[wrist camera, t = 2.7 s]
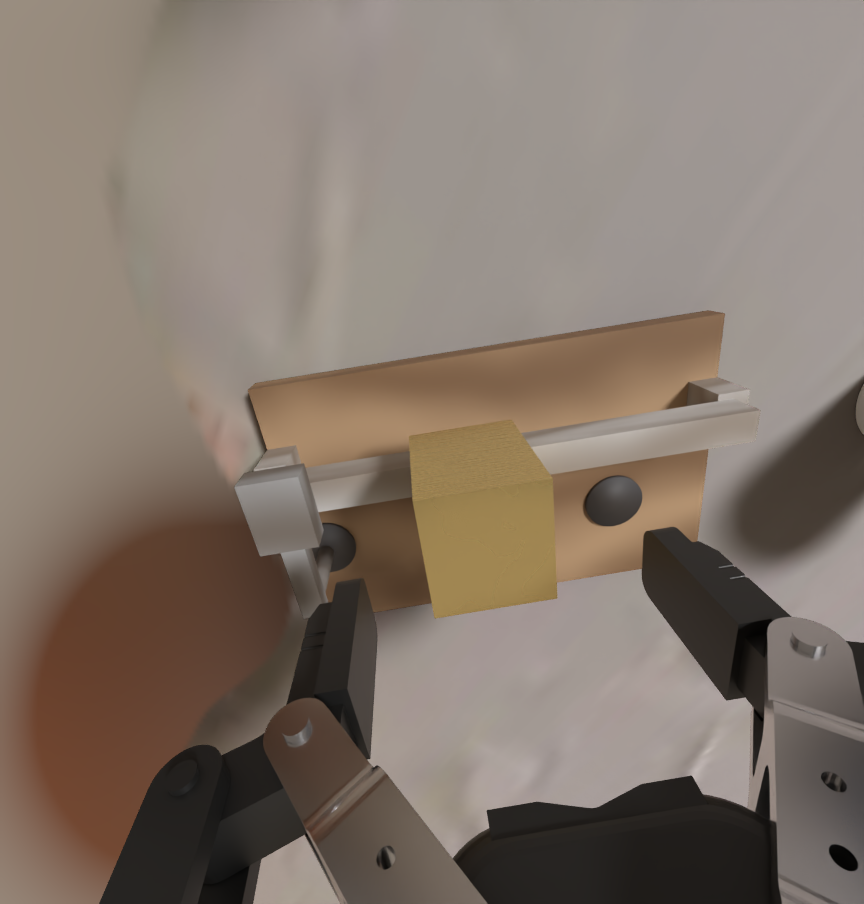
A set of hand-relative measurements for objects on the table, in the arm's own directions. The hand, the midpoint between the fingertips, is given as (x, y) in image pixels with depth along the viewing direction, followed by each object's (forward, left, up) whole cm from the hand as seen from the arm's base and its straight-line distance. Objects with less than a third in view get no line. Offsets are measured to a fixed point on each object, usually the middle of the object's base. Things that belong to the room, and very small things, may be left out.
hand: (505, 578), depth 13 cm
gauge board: (+3, +2, -11) cm, 12 cm away
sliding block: (+1, 0, -10) cm, 10 cm away
